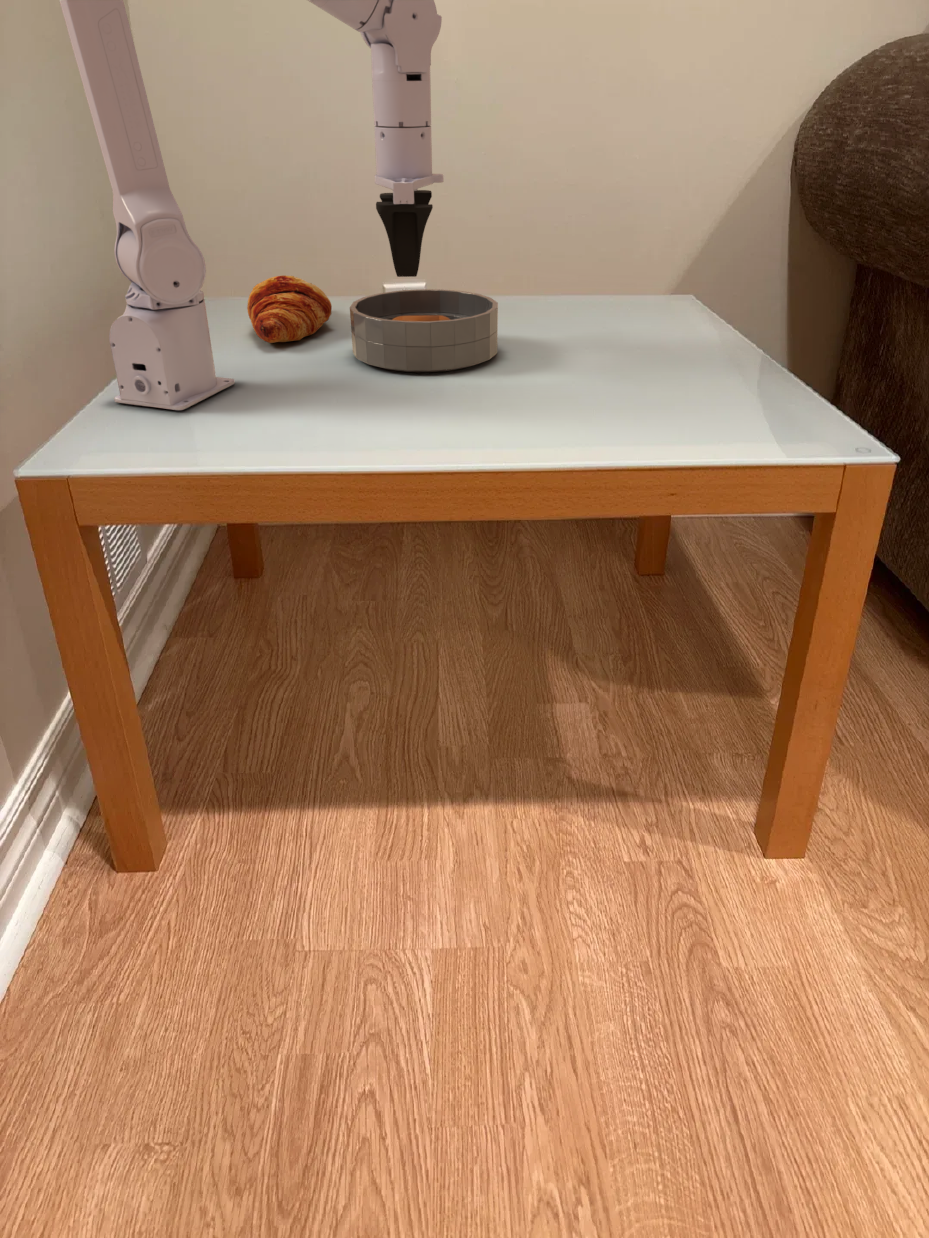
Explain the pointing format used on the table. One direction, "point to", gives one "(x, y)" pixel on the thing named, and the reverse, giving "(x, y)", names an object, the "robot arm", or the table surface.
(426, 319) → the corn dog
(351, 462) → the table surface
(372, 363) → the bowl
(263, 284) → the croissant
